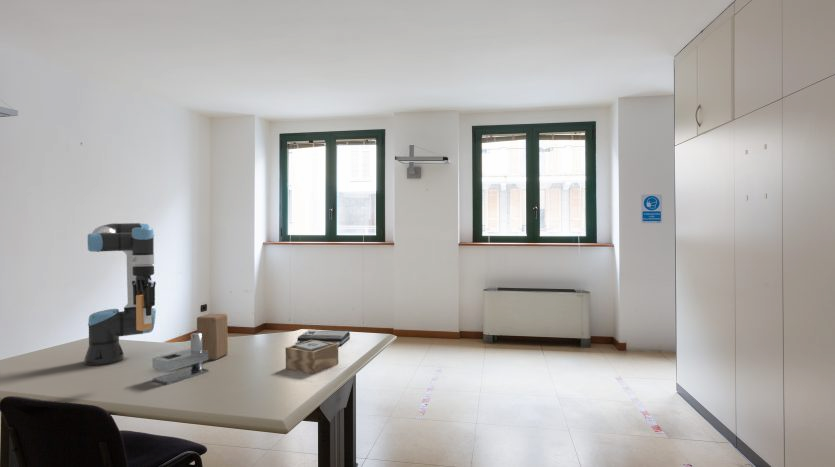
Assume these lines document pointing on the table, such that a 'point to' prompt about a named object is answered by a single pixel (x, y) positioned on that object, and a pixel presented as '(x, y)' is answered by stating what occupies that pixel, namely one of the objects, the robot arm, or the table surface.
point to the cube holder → (311, 358)
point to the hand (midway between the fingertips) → (144, 322)
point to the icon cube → (312, 346)
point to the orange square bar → (141, 315)
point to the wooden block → (213, 334)
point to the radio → (325, 336)
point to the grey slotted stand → (182, 362)
